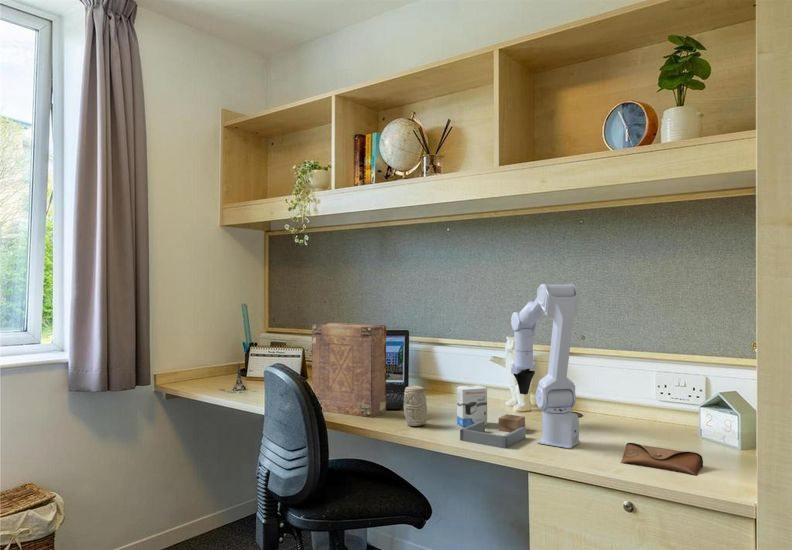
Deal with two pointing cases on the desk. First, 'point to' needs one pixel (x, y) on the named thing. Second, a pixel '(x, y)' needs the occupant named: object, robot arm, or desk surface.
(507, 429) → the brown wooden block
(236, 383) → the eiffel tower figurine
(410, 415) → the carving
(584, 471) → the desk surface
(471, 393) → the ink box
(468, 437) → the box
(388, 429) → the desk surface
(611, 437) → the desk surface
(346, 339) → the book
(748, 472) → the desk surface
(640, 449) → the sunglasses case
